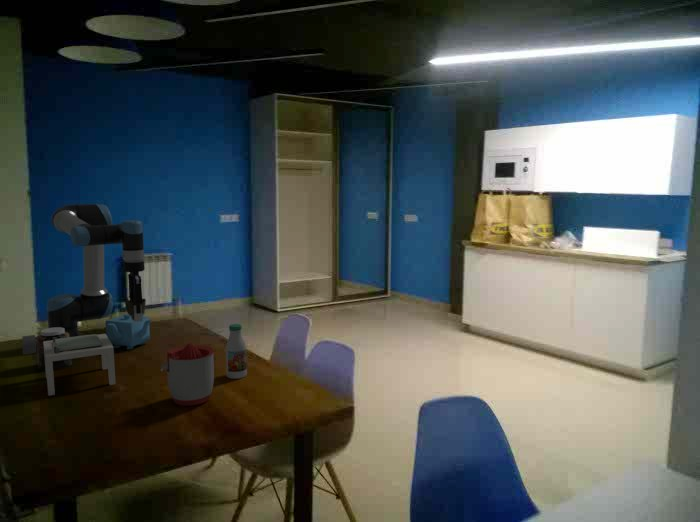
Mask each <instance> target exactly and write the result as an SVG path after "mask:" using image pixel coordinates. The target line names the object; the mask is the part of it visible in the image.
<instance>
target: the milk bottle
mask: <svg viewBox="0 0 700 522" xmlns="http://www.w3.org/2000/svg"><path fill="white" fill-rule="evenodd" d="M228 329H229V336H228V339H227V341H226V345H225V373H226V377H227V378H229V379H234V380H235V379H238V380H239V379H242V378H245V377H246V376H247V374H248V367H247V346H246V342H245V341H246V340H245V339H244V337H243V335H242V329H243V327H242V324H239V323H233V324H230V325H229V326H228Z"/></svg>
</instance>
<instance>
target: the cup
mask: <svg viewBox="0 0 700 522" xmlns="http://www.w3.org/2000/svg"><path fill="white" fill-rule="evenodd" d="M146 301H147V300H146V298H145V297H144V298H143V297H142V302H143V304H142V315H143V314H144V312H145V311H146V305H147V304H146ZM124 302H125V308H126V312H127V313H126V314H129V315H130V316H132V317H131V319H132V320H134V321H135V319H134V306H133V305H132V304H134V298H133V299H132V300H131V299H130V298H129V299H125V300H124ZM144 315H145V314H144Z"/></svg>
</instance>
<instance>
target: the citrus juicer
mask: <svg viewBox="0 0 700 522" xmlns="http://www.w3.org/2000/svg"><path fill="white" fill-rule="evenodd" d="M214 353H215V349H214V348H212V347H210V346H207V345H197V344H196V345H195V344H193V343H187V344H186V345H184V346H178V347H175V348H172V349H170V350H168V351H167V355H166V357H167V358H166V362H164V363H162V365H161V368H160V371H161V372H164V371H167V384H168V389H169V393H170V395H171V398H172V400H173V402H174V404H175V405H179V406H180V407H184V406H188V407H189V406H190V407H191V406H197V405H201V404H205V403H206V402H207V401H210V398H211V395H212V392H213V387H214V382H215V369H214V368H215V366H214V364H215V363H214V362H215V361H214Z"/></svg>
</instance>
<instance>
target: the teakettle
mask: <svg viewBox="0 0 700 522" xmlns="http://www.w3.org/2000/svg"><path fill="white" fill-rule="evenodd" d="M145 315H146V312H144V314H143V315H142V321H140V322H135V321H134V320H132V319H131V316H130V315H129V314H128V313H124V314H123V315H119V316H117V317H113V318H109V319H106V320H105V334H106V335H107V337H108V339H109V340H110V342H111V344H112V346H113V345H114V346H113V348H114V349H119V348H121V347H126V350H128V351H129V350H133V349H134V348H135V347H136V346H142V345H143V346H144V345H145V343H146V342H148V341H150V339H151V335H150V334H151V333H150V323H151V322H153V321H154V320H153V319H150V317H149V316H145Z"/></svg>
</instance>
